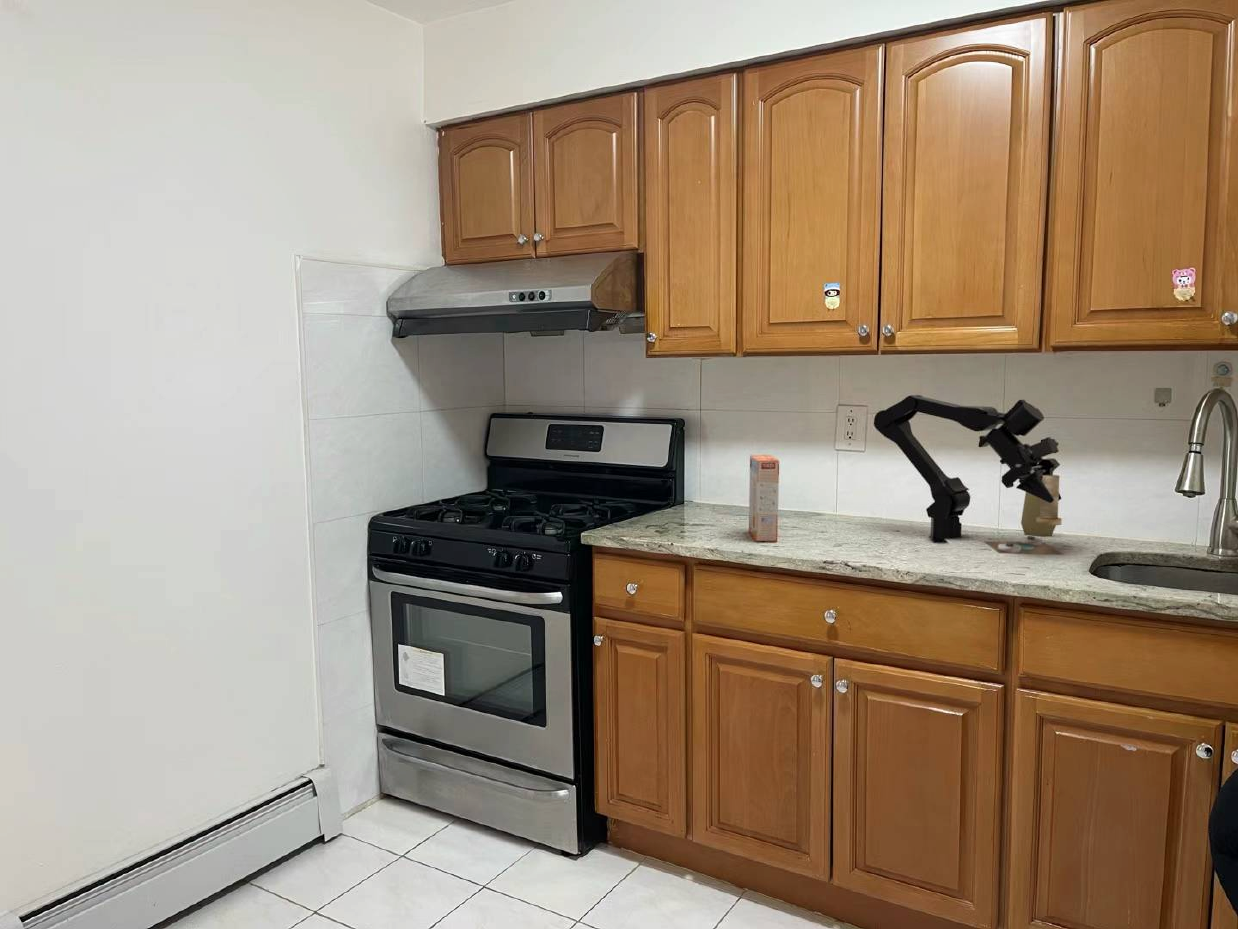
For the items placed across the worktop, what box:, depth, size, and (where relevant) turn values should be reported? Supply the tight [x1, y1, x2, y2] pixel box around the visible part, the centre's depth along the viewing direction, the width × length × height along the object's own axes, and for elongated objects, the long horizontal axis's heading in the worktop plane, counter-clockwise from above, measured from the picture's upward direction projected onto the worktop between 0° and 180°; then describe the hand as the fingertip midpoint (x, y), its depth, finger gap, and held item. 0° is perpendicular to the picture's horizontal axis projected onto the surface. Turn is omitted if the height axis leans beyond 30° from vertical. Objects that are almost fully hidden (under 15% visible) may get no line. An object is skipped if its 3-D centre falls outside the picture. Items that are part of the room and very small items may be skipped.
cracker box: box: [748, 454, 780, 543], centre depth 229 cm, size 14×6×21 cm, turn 179°
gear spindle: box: [1036, 474, 1063, 526], centre depth 203 cm, size 5×5×11 cm
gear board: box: [983, 535, 1065, 556], centre depth 209 cm, size 14×14×3 cm
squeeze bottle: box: [1020, 492, 1057, 537], centre depth 225 cm, size 8×8×18 cm
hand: (1056, 500), depth 202 cm, fingers closed on gear spindle, 4 cm apart
